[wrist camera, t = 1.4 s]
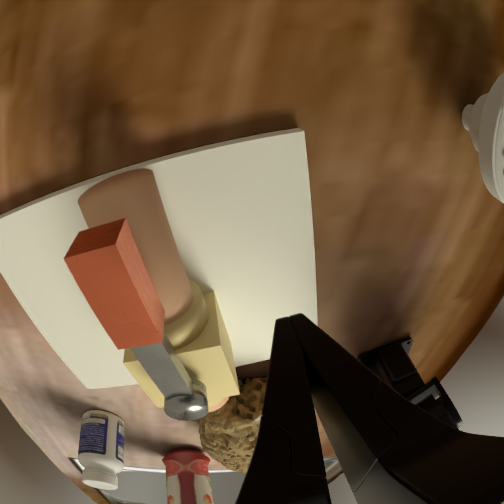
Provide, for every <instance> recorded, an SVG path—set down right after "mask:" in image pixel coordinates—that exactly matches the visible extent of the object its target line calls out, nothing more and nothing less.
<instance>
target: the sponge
mask: <svg viewBox="0 0 504 504" xmlns="http://www.w3.org/2000/svg"><path fill="white" fill-rule="evenodd" d="M266 381H267V378H252V380H250V379H249V378H248V379H246V381H245V385H244V384H243V382H242V381H241V380H238V386H239V392H240V394H239V395H234V396H229V399H228V401H227V402H226V403H225V404H224V405H223V406H222V407H221V408H219V409H217V410H215V411H212V412H208V413H207V415H206V416H204V417H202V418H200V419H199V424H200V428H199V433H200V439H201V445H202V446H203V450H204V451H205V452H207V453H208V454H209V455H210V456H211V457H212V458H213V459H215V460H216V461H218V462H221V463H222V465H224V466H226V468H227V469H229V470H233V471H237V472H241V473H247V470H248V467H249V464H250V461H251V458H252V455H253V451H254V448H255V444H256V440H257V435H258V430H259V425H260V418H261V416H262V415H261V413H262V407H263V401H264V394H265V388H266Z"/></svg>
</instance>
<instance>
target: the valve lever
mask: <svg viewBox="0 0 504 504" xmlns="http://www.w3.org/2000/svg"><path fill="white" fill-rule="evenodd" d="M64 261H65V263H66V264H67V266H68V268H69V270H70V272H71V274H72V276H73V277H74V279H75V281H76V283H77V285H78V286H79V288H80V290H81V292H82V293H83V295H84V297H85V299H86V300H87V302H88V304H89V305H90V307H91V309H92V310H93V312H94V313H95V315H96V317H97V318H98V320H99V321H100V323H101V325H102V326H103V328H104V329H105V331H106V332H107V334H108V335H109V337H110V338H111V340H112V341H113V343H114V344H115V346H116V347H117V349H118V350H121V349H127V348H130V349H131V350H132V352H133V353H134V355H135V356H136V358H137V359H138V361H139V362H140V363H141V365H142V366H143V368H144V369H145V371H146V372H147V374H148V375H149V376H150V378H151V379H152V380H153V382H154V383H155V385H156V386H157V387H158V389H159V390H160V391H161V393H162V394H163V395H164V411H165V413H166V414H167V415H168V416H169V417H171V418H174V419H177V420H196V419H200V418H202V417H204V416H206V415H207V413H208V411H209V410H208V400H207V391H206V386H205V384H204V383H202V382H201V381H199V380H197V379H193V378H190V377H189V375H188V373H187V371H186V370H185V368H184V366H183V364H182V363H181V361H180V359H179V357H178V355H177V353H176V352H175V350H174V348H173V346H172V344H171V342H170V340H169V339H168V337H167V335H166V333H165V331H164V318H165V310H164V307H163V305H162V303H161V301H160V299H159V297H158V294H157V292H156V290H155V288H154V285H153V283H152V281H151V279H150V276H149V274H148V272H147V269H146V267H145V265H144V262H143V260H142V258H141V255H140V253H139V250H138V248H137V245H136V243H135V240H134V238H133V235H132V233H131V230H130V228H129V225H128V222H127V220H126V218H123V219H120V220H116V221H113V222H109V223H106V224H102V225H99V226H96V227H92V228H89V229H86V230H83V231H79V232H78V234H77V236H76V237H75V239H74V241H73V243H72V244H71V246H70V248H69V250H68V252H67V253H66V255H65V257H64Z"/></svg>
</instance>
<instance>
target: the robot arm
mask: <svg viewBox="0 0 504 504" xmlns="http://www.w3.org/2000/svg"><path fill="white" fill-rule="evenodd" d="M412 341H413V340H412V338H411V337H407V338H405V339H402V340H400V341H397V342H394V343H392V344H389V345H386V346H384V347H381V348H378V349H375V350H373V351H370V352H367V353H364V354H362V355H360V357H359V360H357V359H356V358H355V357H354V356H353V355H351V354H350V353H349V352H348V351H347V350H345V349H344V348H343V347H342V346H341V345H339V344H338V343H337V342H336V341H335V340H333V339H332V338H331V337H330V336H329V335H328V334H326V333H325V332H324V331H323V330H322V329H320V328H319V327H318V326H317V325H316V324H314V323H313V322H312V321H311V320H310V319H309V318H307V317H306V316H305V315H304V314H302V313H298V314H294V315H290V316H289V317H288V316H286V317H282V318H278V319H276V321H275V326H274V333H273V340H272V347H271V354H270V361H269V368H268V375H267V381H266V388H265V394H264V401H263V407H262V413H261V415H262V416H261V418H260V425H259V430H258V435H257V440H256V444H255V448H254V451H253V455H252V458H251V461H250V464H249V467H248V470H247V473H246V476H245V479H244V482H243V484H242V487H241V490H240V493H239V495H238V498H237V500H236V503H235V504H332V503H331V499H330V494H329V489H328V484H327V479H326V472H325V466H324V460H323V454H322V448H321V443H320V437H319V432H318V426H317V421H316V415H315V410H314V407H315V409H316V411H317V414H318V416H319V418H320V420H321V422H322V425H323V427H324V429H325V431H326V434H327V436H328V438H329V440H330V443H331V445H332V447H333V449H334V452H335V454H336V456H337V458H338V461H339V463H340V465H341V467H342V469H343V472H344V474H345V476H346V478H347V481H348V483H349V485H350V487H351V489H352V492H353V493H354V496H355V498H356V501H357V502H358V504H504V437H496V436H486V435H477V434H471V433H466V432H463V431H460V430H459V429H458V428H459V427H460V426H461V425H463V422H462V419H461V417H460V415H459V413H458V411H457V410H456V408H455V406H454V405H453V403H452V401H451V399H450V398H449V396H448V395H447V394H446V392H445V390H444V389H443V387H442V385H441V384H440V382H439V381H438V379H437V378H436V376H435V377H433V378H432V379H431V381H429V382H428V383H426V384H424V382H423V380H422V378H421V377H420V375H419V373H418V372H417V369H416V368H415V366H414V364H413V363H412V361H411V359H410V358H409V356H408V353H409V351H410V348H411V345H412ZM438 395H439V398H438V399H436V400H435V397H437V396H438Z"/></svg>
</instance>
